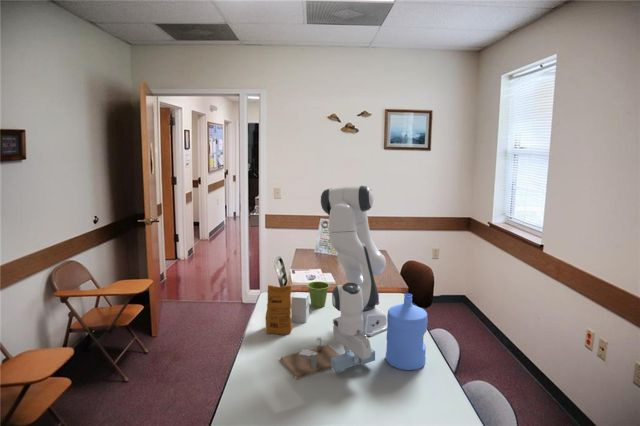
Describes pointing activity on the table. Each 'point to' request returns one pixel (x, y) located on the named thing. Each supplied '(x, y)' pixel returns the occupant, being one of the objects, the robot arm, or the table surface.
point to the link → (349, 360)
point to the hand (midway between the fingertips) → (351, 358)
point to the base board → (309, 362)
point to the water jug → (406, 335)
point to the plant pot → (318, 293)
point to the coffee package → (279, 310)
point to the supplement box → (300, 307)
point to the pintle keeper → (312, 354)
